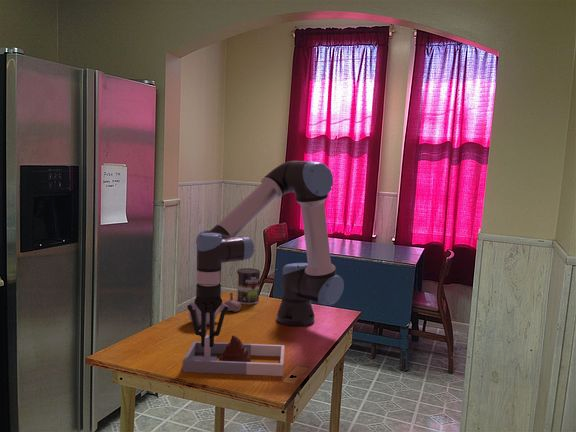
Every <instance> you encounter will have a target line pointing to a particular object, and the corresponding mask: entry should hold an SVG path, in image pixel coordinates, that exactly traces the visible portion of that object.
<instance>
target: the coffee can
mask: <svg viewBox="0 0 576 432" xmlns="http://www.w3.org/2000/svg"><path fill="white" fill-rule="evenodd" d="M236 273H237V274H236V300H235V301H237V302H239V303H240V305H255V304H256V305H257V304H258V303H259V302H260V281H261V280H260V276H261V270H260V269H258V268H250V267H249V268H246V267H245V268H238V269H237V270H236Z"/></svg>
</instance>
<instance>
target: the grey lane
mask: <svg viewBox="0 0 576 432" xmlns="http://www.w3.org/2000/svg"><path fill="white" fill-rule="evenodd" d="M228 343H229V342H217V341H216V342H215V341H214V345H213V347H211V353H210V357H209V358H204V347H202V346H201V341H193V342H192V344H191V345H190V347H189V349H188V352H187V353H186V355H185V357H184V358H183V360H182V373H196V374H197V373H200V374H201V373H202V374H203V373H204V374H220V375H221V374H223V375H225V374H227V375H246V364H247V362H235V361H219V360H217V359H218V357H219V355H223V351H224V350H225V349H226V346H227V344H228ZM242 344H243V345H244V347H245V348H247V350H248V355H249V356H252V355H251V344H252V343H242ZM246 376H247V375H246Z"/></svg>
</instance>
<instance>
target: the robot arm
mask: <svg viewBox="0 0 576 432" xmlns="http://www.w3.org/2000/svg"><path fill="white" fill-rule="evenodd" d="M333 184H334V178H333V174H332V171H331V169H330V168H329V167H328V166H327V165H326V163H325V164H324V163H323V162H320V161H319V162H318V161H314V160H312V161H311V160H310V161H309V160H308V161H306V160H289V161H288V160H287V161H285V162H283V163H281V164H279V165H278V166H276V167H274V169H272V170H270V171H269V172H268V173H267V174H266V175H265V176H264V177H262V179H261V181H260V184H259V185H258V186H257V187H256V188H255V189H254V190H253V191H252V192H250V194H248V195H247V196H246V197H245V198H244V199H243V200H242V201H241V202H240V203H239V204H238V205H236V207H234V208H233V209H232V210H230V212H229V213H228V214H227V215H226V216H225V217H223V219H221V220H220V221H219V222H218V223H217V224H216V225H215V226H214V227H212V228H211V229H210V230H208V229H207V230H202V231H201V232H199V233H198V234H197V236H196V239H195V240H196V241H195V245H196V248H195V249H196V280H195V281H196V290H195V291H196V293H195V299H194V301H192V302H193V303H191V302H190V304H189V303H188V305H187V307H186V309H188V312H189V311H190V313H191V317H192V321H193V322H192V321H191V322H192V325H193V330H194V334H195V335H196V336H199V337H201V340H200V342H201V346H202V347H204V358H209V357H210V353H211V347H213V345H214V342H215V337H219V335H220V334H221V330H222V327H223V323H224V320H225V316H226V312H228V311H227V310H228V308H229V305H225V304H224V303H225V302H223V299H222V298H221V296H222V295H221V294H222V292H221V291H222V285H221V282H222V264H223V263H224V264H225V263H229V262H237V261H241V262H242V261H245V260H249V259H251V258H252V257H253V255H254V253H255V245H254V242H253V239H252V238H251V237H248V236H241V235H240V236H238V235H239V234H240V233H241V232H242V231H243V230H244V229H245V228H246V227H248V226H249V224H251V223H252V222H253V221H254V220H255V219H256V218H257V217H258V216H259V215H260V214H261V213H262V212H263V211H264V210H265V209H266V208H267V207H269V205H270V204H272V203H273V201H275V200H276V199H277V200H278V199H280V198H282V197H283V196H284V195H286V194H289V193H294V194H295V202H296V203H298V204H299V205H300V210H301V211H300V212H301V216H302V218H301V219H302V226H303V234H304V243H305V250H306V258H307V262H295V263H294V262H293V263H287V264H285V265H284V266H283V268H282V274H281V275H282V276H281V277H282V278H281V279H282V281H281V302H280V305H279V308H278V310H277V313H276V320H277V322H278V323H280V324H283V325H286V326H293V327H303V326H309V325H312V324H314V322H315V312H314V309H313V305H312V301H313V302H316V303H318V304H320V305H326V306H331V305H333V304H336V303H337V302H338V300H340V299H341V297H342V294H343V292H344V289H345V282H344V279H343V278H342V277H341V276H340V275H338V274H337V269H336V268H337V267H336V266H335V264H333V263H332V261H331V259H332V258H331V251H330V243H329V234H328V226H327V223H328V222H327V215H326V214H327V213H326V207H325V206H326V205H325V201H326V200H327V199H328V198H329V193H330V192H331V190H332V187H333ZM196 306H197V307H198V308H199V310H200V311H201V325H199V321H198V317H197V313H196ZM220 306H221V312H220V313H219V314H220V315H219V319H218V323H217V326H216V327H215V325H216V324H215V323H216V321H215V320H216V319H215V312H216V310H217V311H218V310H219V309H220ZM207 313H209V316H210V324H209V326H208V327H209V328H208V329H209V334H207V325H206V321H207ZM215 328H216V329H215Z"/></svg>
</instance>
